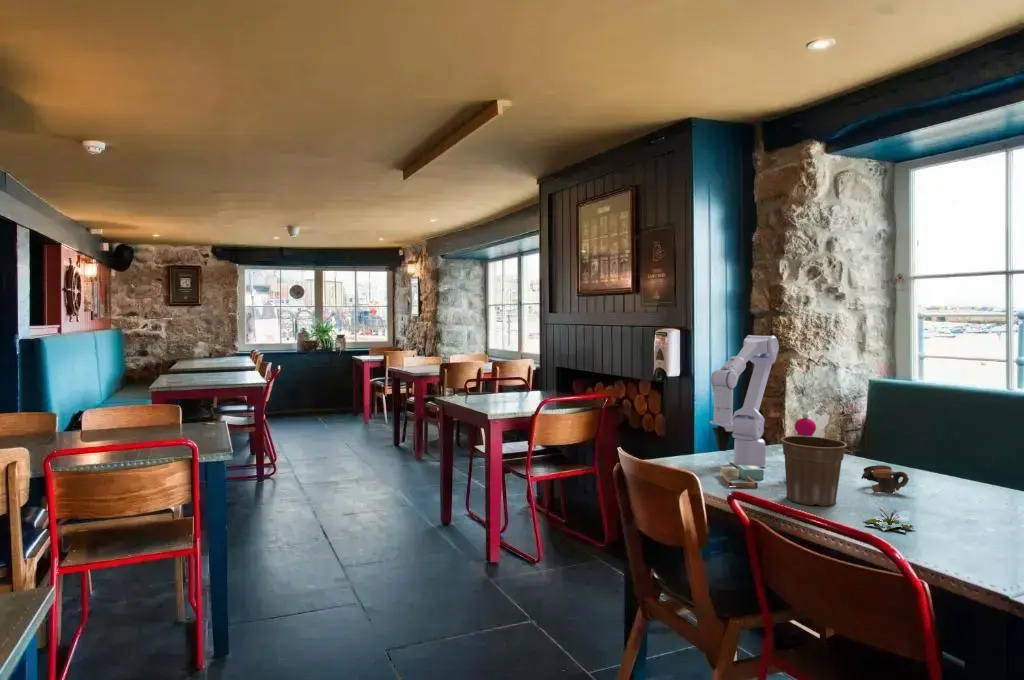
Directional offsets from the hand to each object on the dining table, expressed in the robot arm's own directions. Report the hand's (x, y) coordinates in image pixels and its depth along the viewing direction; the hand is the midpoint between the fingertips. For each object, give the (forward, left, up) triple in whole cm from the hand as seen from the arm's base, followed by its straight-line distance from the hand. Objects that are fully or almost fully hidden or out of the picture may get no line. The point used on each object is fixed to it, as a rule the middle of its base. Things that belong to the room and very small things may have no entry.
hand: (722, 450), depth 218 cm
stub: (0, +8, -7) cm, 10 cm away
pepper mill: (-23, +8, -7) cm, 25 cm away
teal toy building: (-7, +7, -7) cm, 12 cm away
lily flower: (-24, +55, -8) cm, 60 cm away
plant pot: (-15, +33, -7) cm, 37 cm away
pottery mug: (-40, +22, -7) cm, 46 cm away
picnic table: (0, +16, -7) cm, 17 cm away
